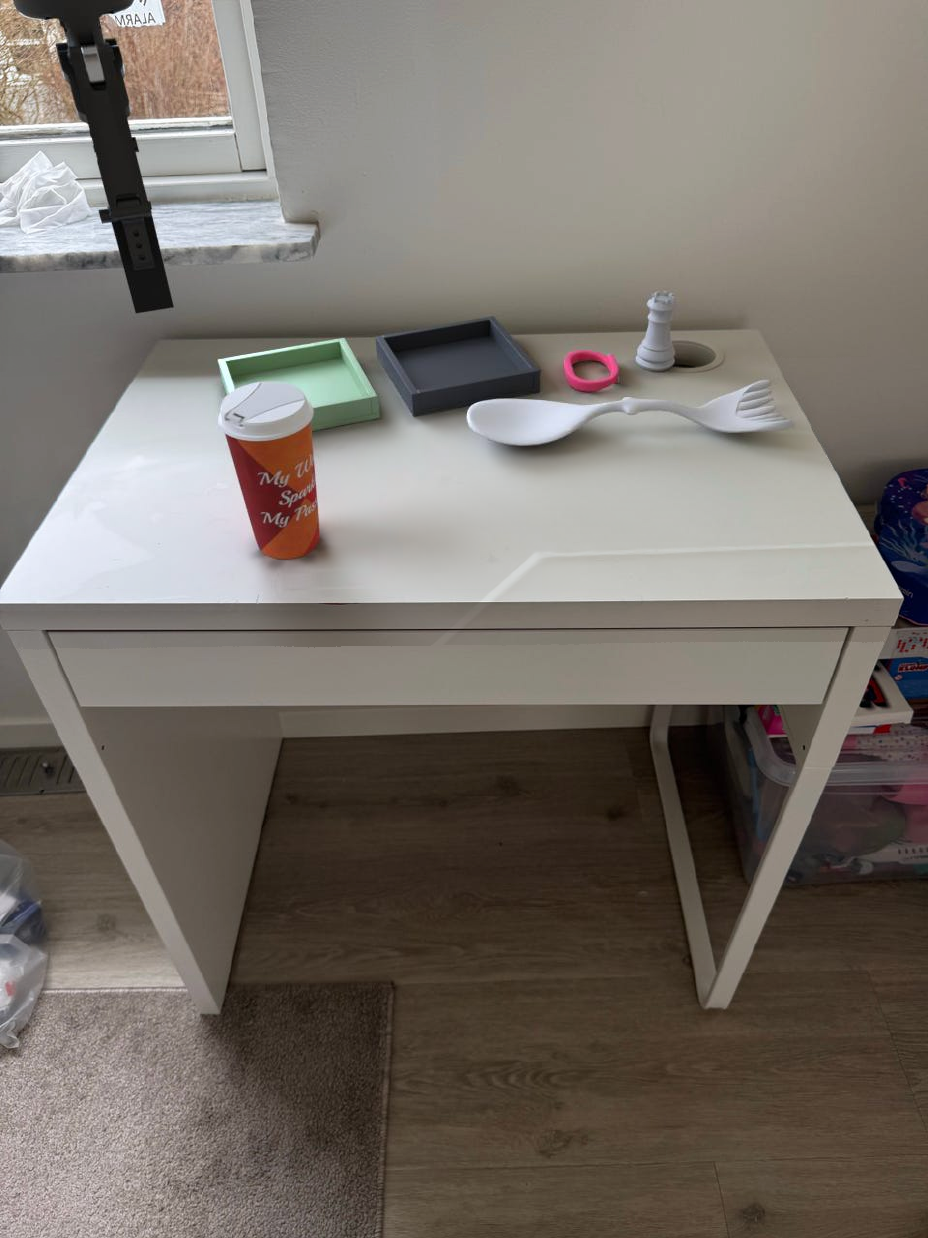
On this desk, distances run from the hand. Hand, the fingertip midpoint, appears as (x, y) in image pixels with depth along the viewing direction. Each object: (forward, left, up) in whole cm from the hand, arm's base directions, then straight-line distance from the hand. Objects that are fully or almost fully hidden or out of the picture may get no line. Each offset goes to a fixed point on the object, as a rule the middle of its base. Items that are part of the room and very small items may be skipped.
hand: (144, 274), depth 73 cm
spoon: (+43, -1, -23) cm, 48 cm away
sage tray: (+13, +18, -23) cm, 32 cm away
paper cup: (+7, -7, -23) cm, 25 cm away
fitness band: (+45, +11, -23) cm, 51 cm away
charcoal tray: (+31, +17, -23) cm, 42 cm away
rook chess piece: (+53, +11, -23) cm, 58 cm away
